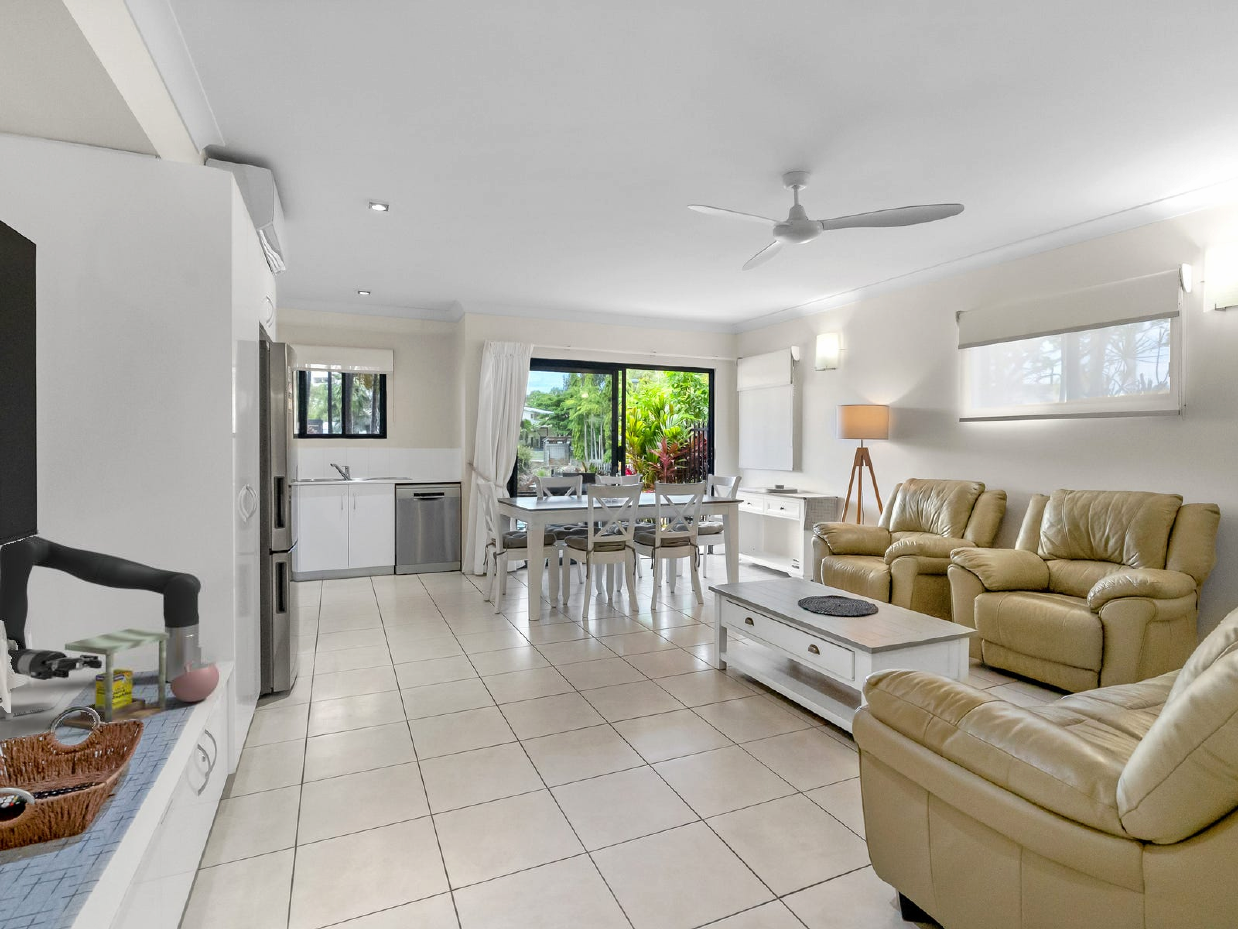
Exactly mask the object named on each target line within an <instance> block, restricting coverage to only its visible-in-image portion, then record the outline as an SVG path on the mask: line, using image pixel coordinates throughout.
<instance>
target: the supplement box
mask: <svg viewBox="0 0 1238 929" xmlns="http://www.w3.org/2000/svg"><path fill="white" fill-rule="evenodd" d="M133 674H134V673H133V670H129V669H121V668H116V669H113V709H116V708H119V707H122V706H124V705H127V704H130V703H132V698H133V676H134V675H133ZM94 688H95V689H94V690H95V693H94V694H95V696H94V704H95V708H96V709H102V710H105V672H103V673H100V674H99V673H98V674H96V675H95V687H94Z"/></svg>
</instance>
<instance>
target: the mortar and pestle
mask: <svg viewBox="0 0 1238 929" xmlns="http://www.w3.org/2000/svg"><path fill="white" fill-rule="evenodd" d="M193 663H194V661H191V662H190V663H189V664H187V665H185V666H184V670H185V674H182V675H180V676H178V677H176V678H174V679H172V680H171V681H170V682H169V687H170V691H171V693H172V694H173V696H174V697H175V698H177V699H178V700H180V701H182V702H186V703H195V702H199V701H203V700H205V699H206V698H208V697H209V696H210V695H211V694H213V693H214V691H215V690H216V689H217V687H218V684H219V681H220V673H219V672H220V671H219V670H218V667H217V666H216V665H208V666H203V667H201V668H198V669H196V670H194V671H191V672H190V671H189V668H190V667H191V666H192V665H193Z"/></svg>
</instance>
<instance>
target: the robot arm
mask: <svg viewBox="0 0 1238 929" xmlns="http://www.w3.org/2000/svg"><path fill="white" fill-rule="evenodd" d="M33 567H40V568H46V569H53V570H57V571H61V572H64V573H67V575H68V574H69V575H71V576H73V577H75V578H76V579H79V580H82V581H84V582H87V583H90V584H93V585H99V586H103V587H107V588H112V589H113V588H114V589H120V590H121V589H122V590H141V591H149V592H152V593H156V594H160V595H162V596H163V604H162V605H163V606H162V607H163V608H162V610H163V614H162V615H163V619H164V621H163V622H164V633H169V639H166V675H165V682H166V681H168V682H167V683H170V681H171V680H172V679H174V678H176V677H178V676H180V675H182V674H185V670H184V666H185V665H187V664H189V663H190V662H191V661H194V663H193V665H192V666H191V667H190V668H189V671H190V672H191V671H194V670H196V669H198V668H202V645H201V644H199V642H200V640H199V638H200V637H199V636H200V634H199V632H200V615H199V593H200V591H201V590H202V583H201V581H200V580H199V578H198V577H197V576H195V575H194V574H192V573H191V574H190V573H188V572H187V573H186V572H180V571H170V570H167V569H161V568H156V567H152V566H149V565H146V564H143V563H140V562H136V561H132V560H129V559H125V558H122V557H119V556H115V555H111V554H107V553H101V552H95V551H91V550H86V549H82V548H81V549H80V548H75V547H71V546H66V545H62V544H59V543H57V542H55V541H52V540H48V539H45V538H42V537H40V536H36V535H33V537H28V538H25V539H23V540H21V541H16V542H14V543H10V544H6V545H3V544H2V545H1V547H0V620H2V621H4V623H5V627H6V633H7V639H9V640H15V641H16V643H17V645H18V650H8V654H9V655H10V656H11V657H12V659H11V662H10V663H11V665H12V669H13V670H14V672H15V673H14V674H16V673H17V675H23V676H28V677H30V678H31V679H35V680H43V681H46V680H51V679H53V680H54V679H55V678H59V679H60V678H61V679H67V678H69V677H70V672H73V671H74V672H75V671H82V670H83V669H88V668H89V669H96V670H98V669H101V668H102V666H103V665H102V664H103V661H102V660H100V659H99V656H98V655H89V654H80V656H79V657H71V656H67V655H66V654H65V652H62V651H57V650H49V649H48V650H47V649H32V648H27V643H26V635H25V628H26V622H27V617H28V608H29V601H28V600H29V599H28V598H29V597H28V585H29V584H28V583H29V578H30V575H31V572H32V570H33ZM77 664H78V666H77Z"/></svg>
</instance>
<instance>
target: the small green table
mask: <svg viewBox="0 0 1238 929" xmlns="http://www.w3.org/2000/svg"><path fill="white" fill-rule="evenodd" d="M166 639H169V633H165V632H161V631H152V630H145V629H136V628H135V629H134V628H127V629H123V630H119V631H114V632H110V633H106V634H101V635H98V636H97V635H96V636H93V637H89V638H85V639H81V640H76V641H73V642H71V641H70V642H68V643H65V644H64V650H66V651H73V652H81V653H88V654H95V655H103V656H105V672H104V673H105V710H102V709H96V708H95V703H91V704H88V705H86V707H89V708H92V709H93V710H95V711H96V712H97V713H98V715H99V716H100V721H101V722H105V723H109V722H120V721H124V720H130V719H141V720H144V719H146V718H148V717H147V716H149V715H152V716H154V715H157V714H159V712H160V713H162V712H165V711H167V706H166V681H165V675H166ZM157 642H158V680H157V681H158V684H157V685H158V687H157V688H158V693H157V694H158V695H157V704H152V703H146V699H144V698H137V697H132V703H130V704H127V705H124V706H122V707H119V708H116V709H113V670H114V657H115V656H114V654H116V653H119V652H124V651H127V650H131V649H134V648H138V647H142V646H145V645H146V646H147V645H150V644H155V643H157ZM156 713H157V714H156ZM145 717H146V718H145ZM149 717H150V716H149ZM94 722H95V721H94V719H93V716H92V715H89V713H87V712H81V711H80V714H79V715H76V716H73V717H70V718H67V719H63V720H62V725H64V724H65V726H71V727H75V726H78V727H77V728H82V729H87V730H92V727H93V726H94Z"/></svg>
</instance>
